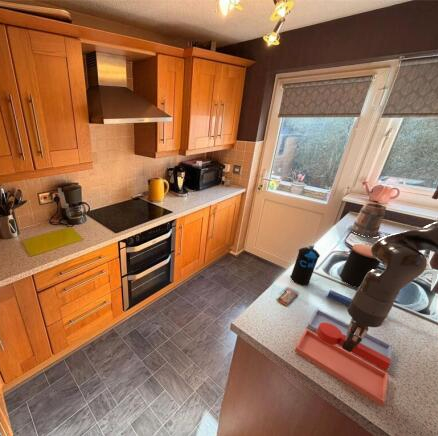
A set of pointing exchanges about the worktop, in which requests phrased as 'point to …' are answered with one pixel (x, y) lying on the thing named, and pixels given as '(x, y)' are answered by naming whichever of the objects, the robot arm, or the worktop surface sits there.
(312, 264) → the aerosol can
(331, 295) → the blue spoon
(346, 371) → the red tray
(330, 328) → the red spoon
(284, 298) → the chocolate bar
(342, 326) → the blue tray
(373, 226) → the tankard
